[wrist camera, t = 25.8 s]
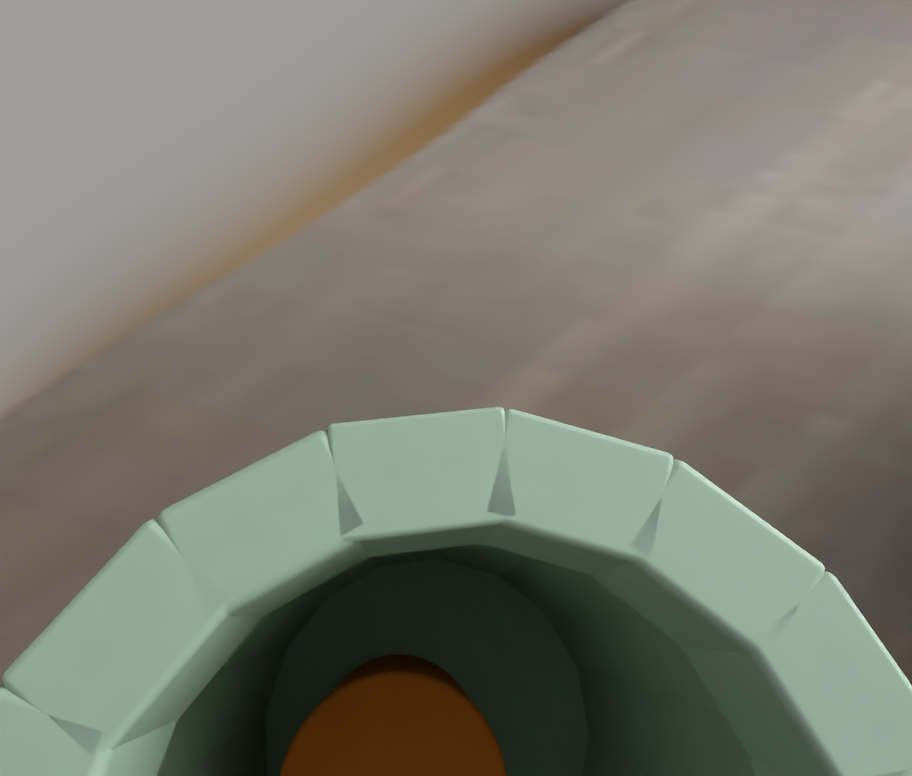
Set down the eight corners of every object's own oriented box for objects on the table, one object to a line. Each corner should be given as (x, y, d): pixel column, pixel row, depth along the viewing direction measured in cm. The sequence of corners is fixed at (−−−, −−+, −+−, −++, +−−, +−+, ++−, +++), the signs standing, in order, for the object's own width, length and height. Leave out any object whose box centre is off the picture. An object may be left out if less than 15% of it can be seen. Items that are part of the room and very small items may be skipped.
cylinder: (481, 827, 13) (516, 928, 9) (313, 838, 13) (268, 946, 9) (473, 650, 14) (501, 665, 10) (318, 658, 14) (279, 676, 10)
